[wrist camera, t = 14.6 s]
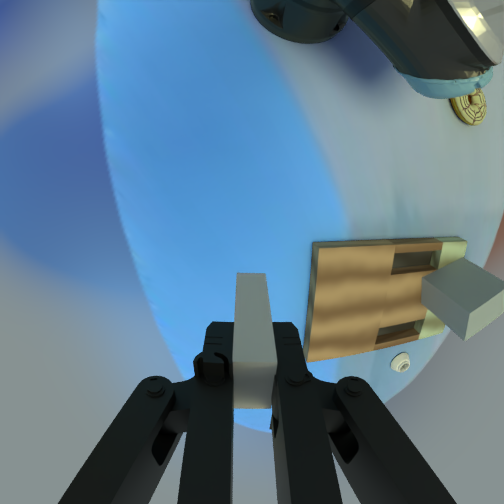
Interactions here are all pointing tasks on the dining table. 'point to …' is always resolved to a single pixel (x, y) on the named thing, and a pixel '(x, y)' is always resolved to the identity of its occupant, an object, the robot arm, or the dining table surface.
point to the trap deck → (372, 294)
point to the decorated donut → (470, 107)
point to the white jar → (400, 362)
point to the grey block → (463, 297)
